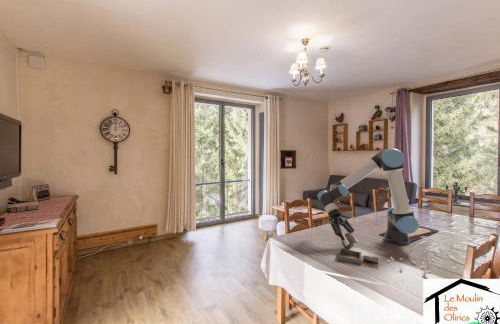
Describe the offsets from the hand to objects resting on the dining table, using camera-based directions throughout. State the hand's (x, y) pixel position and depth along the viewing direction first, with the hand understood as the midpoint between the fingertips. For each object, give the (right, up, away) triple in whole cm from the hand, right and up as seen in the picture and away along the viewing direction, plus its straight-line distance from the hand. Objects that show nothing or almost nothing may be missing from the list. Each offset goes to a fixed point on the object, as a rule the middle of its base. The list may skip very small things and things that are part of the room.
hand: (352, 244), depth 146 cm
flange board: (-2, -6, -12) cm, 13 cm away
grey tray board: (-2, -5, -12) cm, 13 cm away
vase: (-2, -4, +3) cm, 5 cm away
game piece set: (+21, -7, -18) cm, 29 cm away
